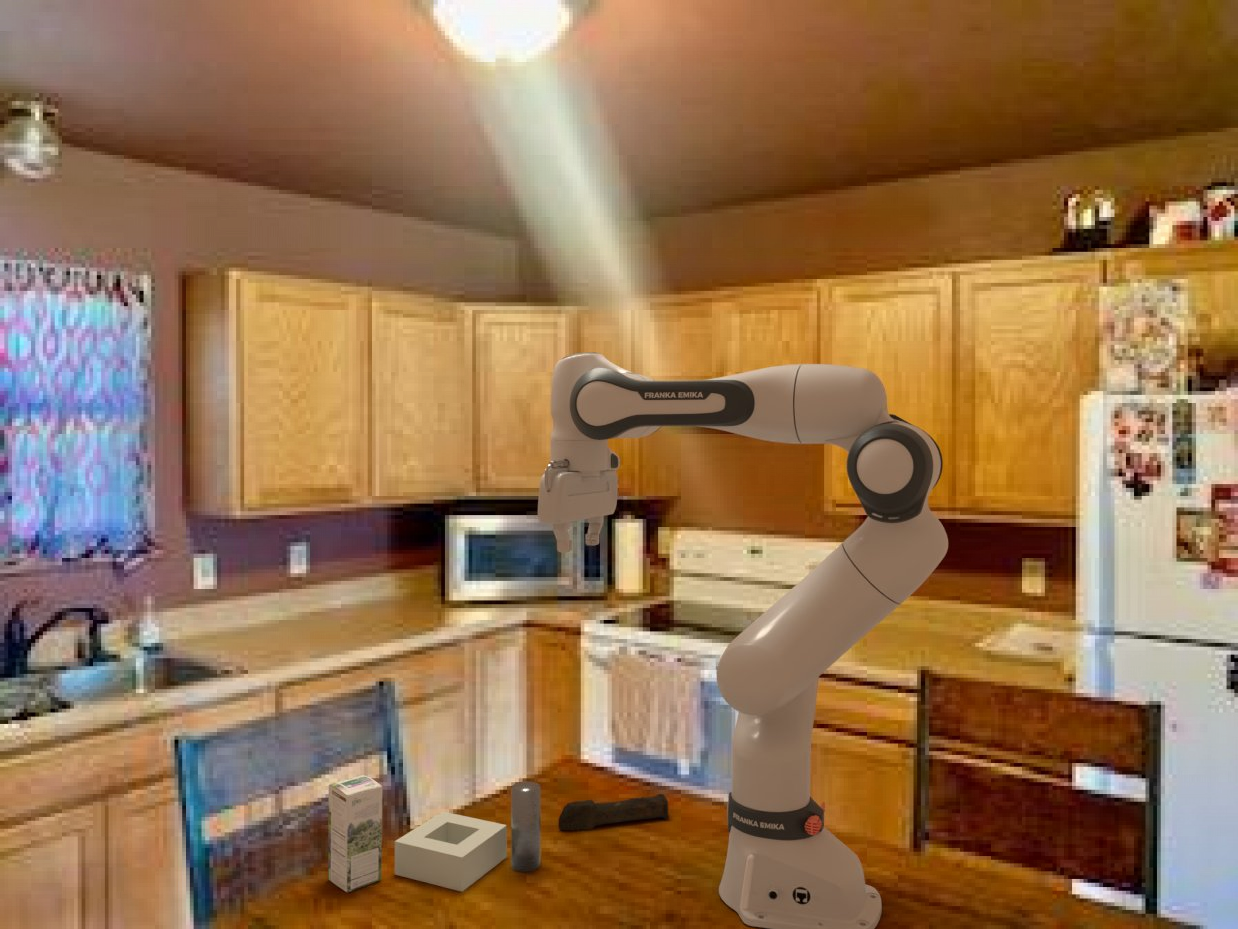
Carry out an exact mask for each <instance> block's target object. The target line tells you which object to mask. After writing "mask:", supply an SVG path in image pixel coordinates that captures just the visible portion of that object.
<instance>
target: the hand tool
mask: <svg viewBox="0 0 1238 929" xmlns="http://www.w3.org/2000/svg"><path fill="white" fill-rule="evenodd" d="M668 817H669V803H668V798H667V797H666V795H665V794H664V793H658V794H656V795H654V796H647V797H644V796H643V797H635V798H629V799H626V800H618V801H617V800H616V801H610V802H600V803H599V802H595V801H594V800H593V799H587V800H579V801H572V802H568V803H566V805H564V806H563V808H562V810H561V813H560V815H559V817H558V825H557V826H558V829H559V830H560V831H570V832H571V831H572V832H574V831H590V830H593V829H594V828H595V827H597V826H601V825H602V826H603V825H606V824H617V823H620V822H621V823H622V822H623V823H624V822H631V821H633V822H634V821H641V820H652V819H656V818H657V819H658V818H662V819H664V820H668Z"/></svg>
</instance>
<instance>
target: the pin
mask: <svg viewBox="0 0 1238 929" xmlns="http://www.w3.org/2000/svg"><path fill="white" fill-rule="evenodd" d="M510 792H511V793H510V794H511V795H510V796H511V797H510V798H511V799H510V802H511V805H510V806H511V807H510V810H511V813H510V815H511V816H510V817H511V819H510V821H511V824H510V827H511V828H510V829H511V830H510V832H511V834H510V835H511V836H510V838H511V839H510V840H511V842H510V844H511V845H510V846H511V849H510V852H511V853H510V854H511V855H510V864H511V865H510V867H511V869H513V870H515V871H517V872H519V873H521V872H523V873H528V872H533V871H536V870H538V869H539V868H540V867H541V785H540V784H539V783H537V782H534V781H519V782H516V783H514V784H513V785H512V786H511V790H510Z"/></svg>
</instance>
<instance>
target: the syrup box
mask: <svg viewBox="0 0 1238 929" xmlns="http://www.w3.org/2000/svg"><path fill="white" fill-rule="evenodd" d="M327 808H328V815H327V816H328V817H327V818H328V820H327V821H328V822H327V824H328V826H327V827H328V828H327V829H328V832H327V833H328V835H327V837H328V846H327V848H328V849H327V852H328V855H327V856H328V859H327V878H328V881H329V882H331V883H333V884H334V885H335V886H336V887H338V888H339V889H341V890H342V891H344V893H345V892H346V893H347V894H348V893H350V892H354V891H355V890H359V889H362V888H363V887H367V886H369V885H372V884H375V883H377V882H380V881H381V880H382V870H383V869H382V858H383V857H382V856H383V852H382V851H383V850H382V848H383V847H382V846H383V834H382V833H383V785H381V783H379V782H377V781H376V780H375V779H373V778H371V777H369V776H367V775H364V774H362V775H357V776H354V777H350V778H347V779H344V780H341V781H337V782H334V783H330V784H328V807H327Z"/></svg>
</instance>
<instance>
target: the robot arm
mask: <svg viewBox="0 0 1238 929" xmlns="http://www.w3.org/2000/svg"><path fill="white" fill-rule="evenodd" d="M884 386H885V385H884V384H883V381H882V380H881V379H880V377H879V376H878V375H877V374H876V373H875V372H873V371H872V370H869V369H865V368H861V367H857V366H856V367H855V366H849V365H848V366H847V365H839V364H829V363H828V364H827V363H796V364H795V363H794V364H793V363H792V364H785V365H777V366H770V367H769V366H768V367H764V368H758V369H754V370H749V371H744V372H739V373H735V374H729V375H725V376H718V377H714V378H708V379H698V380H697V379H696V380H695V379H694V380H693V379H692V380H655V379H652V378H651V377H648V376H646V375H644V374H643V375H642V374H640V373H637V372H633V371H630V370H628V369H625V368H622V367H621V366H618V365H616V364H615V363H613V362H611V361H610V360H608V359H607V358H606V356H605V355H603V354H601V353H600V352H593V351H589V352H578V353H573V354H569V355H565V356H564V357H562V358H561V359H560V360H558V361H557V362H556V363H555V366H554V369H553V372H552V379H551V388H550V390H551V391H550V414H551V418H552V432H551V435H550V461H549V462H548V465H547V466H546V468H545V470H544V474H542V476H541V478H540V482H539V489H538V502H537V518H538V520H539V522H540V523H541V524H548V525H549V524H550V525H552V531H553V534H554V536H555V539H556V551H557V552H558V553H566V554H567V553H570V552H571V551H572V549H573V546H572V545H573V540H572V539H570V535H569V531H568V530H570V523H572V522H578V521H582V520H587V523H588V529H587V533H585V535H584V536H585V545H586V546H597V545H599V544H600V533H601V530H602V528H603V525H604V517H605V516H609V515H613V514H614V513H615V511H616V508H617V506H618V505H617V504H618V502H617V501H618V489H619V488H618V486H619V484H618V483H619V482H618V481H619V479H618V478H619V477H618V472H617V471H616V470H619V469H620V467H621V466H620V464H621V458H620V456H619V455H618V454H616V453H615V452H613V450H612V449H611V448H610V447H609V441H608V440H611V439H612V440H613V439H637V438H638V439H639V438H644V437H647V436H650V435H652V434H654V433H656V432H658V431H659V430H660V429H661V428H662V427H699V428H709V429H713V430H714V429H715V430H720V431H724V432H728V433H732V434H736V435H739V436H742V437H747V438H753V439H757V440H761V441H766V442H767V441H768V442H771V443H772V442H773V443H781V444H796V445H797V444H798V445H801V444H802V445H803V444H804V445H811V444H814V445H815V444H816V445H817V444H818V445H822V444H823V445H831V446H837V447H839V448H841V449H843V450H845V451H846V452H847V458H846V473H847V474H846V475H847V477H848V480H849V482H850V485H851V488H852V489H853V491H854V493H855V495H856V496H857V498H858V501H859V503H860V504H861V506H862V508H863V510H864V512H865V514H866V516H867V517H866V518H865V520H864V521H863V522H862V524H861V525H860V526H859V527H858V528H857V529H856V530H855V531H854V532H853V533H851V534H850V535H849V536H847V538H846V539H845V540H844V541H843V542H841V543H840V545H838V546H837V547H836V548H835V549H834V550H832V552H830V553H829V555H827V556H826V557H825V558H824V559H823V560H822V561H821V562H820V563H819V564H818V565H817V566H816V567H815V568H813V569H812V570H811V571H810V572H809V573H808V574H807V575H806V576H804V578H802V579H801V580H800V581H799V582H798V583H797V584H796V585H794V586H793V587H792V588H790V589H789V590H788V591H787V592H786V593H785V594H784V595H783V596H782V597H781V598H779V599H778V600H777V601H776V602H774V603H773V604H772V605H770V607H769V608H768V609H767V610H766V611H764V612H763V613H762V614H761V615H760V616H759V617H757V618H756V619H755V620H754V621H753V622H752V623H751V624H749V626H747V627H746V628H745V629H744V630H743V631H741V632H740V633H739V634H738V635H737V636H736V637H735V638H734V639H732V641H731V642H730V643H729V644H728V645H727V647H726V648H725V650H724V651H723V653H722V655H721V657H720V659H719V662H718V664H717V670H716V675H715V676H716V684H717V688H718V691H719V693H720V695H721V697H722V698H723V700H724V701H725V702H726V703H727V705H729V706H730V707H731V708H732V709H733V710H735V711H737V712H738V714H737V719H736V723H735V724H736V725H735V728H734V730H733V734H732V739H731V777H730V778H731V779H730V781H731V783H730V784H731V785H730V786H731V787H730V788H731V789H730V790H731V791H730V792H729V793H728V798H727V806H726V807H727V809H726V821H727V822H726V823H727V831H728V833H729V835H728V845H727V846H728V847H727V854H726V860H725V864H724V869H723V872H722V873H723V874H722V877H721V880H720V883H719V886H718V895H719V896H720V898H721V900H722V901H723V902H724V903H725V904H726V905H727V906H728V907H730V908H731V909H732V910H734V911H735V912H736V913H737V914H738V916H739V918H740V919H741V921H742V922H743V923H744V924H746V926H750V927H755V928H757V927H758V928H764V929H875V928H876V927H877V926H878V923H879V921H880V919H881V916H882V913H883V912H882V911H883V908H882V907H883V906H882V898H881V895H880V893H879V891H878V890H877V889H876V888H875V887H873V886H871V885H869V884H866V880H865V875H864V869H863V866H862V863H861V861H860V857H858V855H857V854H856V853H855V852H854V851H853V850H852V849H851V848H849V847H848V846H847V845H846V844H844V843H843V842H842V841H841V840H840V839H839V838H837V837H836V836H835V835H834V834H833V833H832V832H831V831H829V830H828V829H827V828H826V827H825V811H826V809H825V808H826V803H825V801H822V803H821V805H819V804H818V803H817V802H816V801H815V799H813V798H812V796H811V756H812V754H811V749H812V746H811V745H812V737H813V728H814V722H815V715H816V706H817V698H818V687H819V677H820V676H821V675H822V674H824V673H825V672H826V671H827V670H828V669H829V668H831V666H832V665H833V664H834V663H836V661H838V660H839V659H840V658H841V657H843V656H844V654H845V653H847V652H848V651H850V649H852V647H853V646H854V645H855V644H856V643H858V642H859V641H860V640H861V639H863V637H865V636H866V635H867V634H868V633H870V632H871V631H872V630H873V629H874V628H875V627H877V625H879V624H880V623H881V622H882V621H883V620H884V619H885V618H887V617H888V616H889V615H890V614H892V613H893V612H894V611H895V610H896V609H897V608H898V607H899V606H901V605H902V603H904V602H905V601H906V600H907V599H908V598H909V597H910V596H911V595H912V594H914V593H915V592H916V591H917V590H918V589H919V588H920V586H922V584H923V583H924V582H926V580H927V579H928V578H929V577H930V576H931V575H932V573H933V572H934V571H935V570H936V568H938V566H939V564H940V563H941V562H942V560H943V559H944V558H945V557H946V554H947V552H948V550H949V538H948V534H947V532H946V529H945V527H944V526H943V524H942V522H941V521H940V520H939V519H938V517H937V516H936V515H935V514H933V513H932V511H931V508H930V506H929V496H930V494H931V492H932V491H933V489H935V487H936V486H937V484H938V483H939V480H940V479H941V476H942V472H943V467H944V466H943V463H944V462H943V461H944V460H943V454H942V452H941V448H940V446H939V445H938V444H937V442H936V440H935V439H934V438H933V437H932V436H931V435H930V434H928V432H926V431H925V430H924V429H921V428H920V427H919V426H916V425H914V424H913V423H910V422H909V421H907V420H904V419H903V418H901V417H900V416H897V415H896V414H894V413H892V414H891V413H890V414H889V409H888V397H887V391H886V389H885V387H884Z"/></svg>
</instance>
